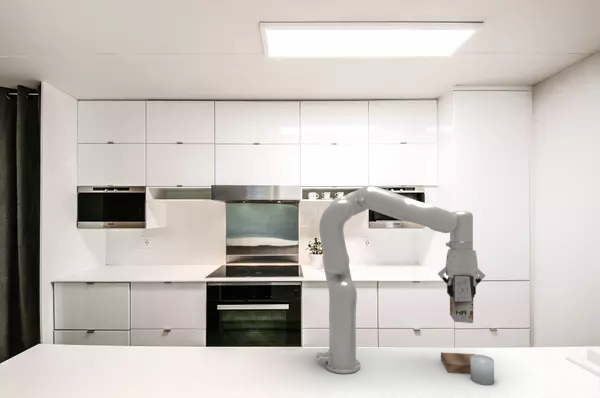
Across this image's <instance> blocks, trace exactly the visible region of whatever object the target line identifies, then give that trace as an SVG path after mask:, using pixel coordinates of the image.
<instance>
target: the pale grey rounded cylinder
mask: <svg viewBox="0 0 600 398" xmlns="http://www.w3.org/2000/svg"><path fill="white" fill-rule="evenodd" d="M470 380H471V381H472V382H473V383H475V384H478V385H482V386H492V385H494V384H495V359H494V358H492V357H491V356H488V355H484V354H475V355H472V356H471V374H470Z"/></svg>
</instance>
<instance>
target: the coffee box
mask: <svg viewBox="0 0 600 398" xmlns="http://www.w3.org/2000/svg"><path fill="white" fill-rule="evenodd" d="M452 286H453V296H452V297H450V296H449V315H450V317H451V319H452V320H453V321H454V323H463V324H464V323H465V324H473V323H474V298H473V291H474V276H471V275H454V279H453V282H452Z"/></svg>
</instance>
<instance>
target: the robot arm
mask: <svg viewBox="0 0 600 398" xmlns="http://www.w3.org/2000/svg"><path fill="white" fill-rule="evenodd" d="M367 210H371V211H373V212H377V213H379V214H382V215H385V216H387V217H391V218H393V219H397V220H399V221H402V222H408V223H412V224H415V225H420V226H424V227H427V228H429V229H430V230H431V231H435V232H437V233H438V232H439V233H442V234H449V241H447V242H445V246H446V247H448V249H447V252H446V259H445V266H444V267H443V268H442V269H441V270H440V271H439V272H437V275H438V276H439V277H440V279H441V280H442V281H443V282H444V283H445V284H446V293H447V294H446V295H448V296H449V298H450V297H452V296H453V286H452V282H453V279H454V275H471V276H474V291H473V299H474V298H475V295H476V294H477V293H476V292H477V289H476V288H477V286H478V285H479V283H481V281H482V280H483V279H484V278H486V275H485V274H484V273H483V272H482V271H481V269H479V266H478V265H479V264H478V257H477V251H476V250H475V249H474V241H473V240H474V238H473V237H474V234H473V233H474V230H473V229H474V215H473V213H472V212H470V211H463V210H461V211H457V210H455V211H449V210H447V209H446V210H445V209H443V208H440V207H437V206H436V205H435V206H434V205H432V204H428V203H425V202H422V201H419V200H417V199H414V198H411V197H408V196H405V195H402V194H399V193H396V192H393V191H390V190H387V189H385V188H382V187H379V186H376V185H366V186H363V187H360V188H358V189H356V190H354V191H352V192H350V193H347V194H345V195H343V196H340V197H338V198H335V199H334V200H332V201H331V202H330V203H329V206H327V208H326V209H324V211H323V212H322V214H321V217H320V220H319V224H318V225H319V228H318V230H319V231H318V232H319V237H320V243H321V251H322V264H323V269H324V273H325V279H326V284H327V288H328V289H327V290H328V298H329V303H328V305H329V307H328V308H329V309H328V317H329V318H328V323H329V324H328V333H329V334H328V341H329V342H328V343H329V344H328V345H329V346H328V351H326V352H320V351H319V352H318V351H317V353H316V359H319V361H324V366H325V369H327V370H328V371H330V372H332V373H336V374H342V375H343V374H344V375H346V374H352V373H353V374H354V373H356V372H358V371H359V370H360V369H361V362H360V361H359V360H358V359H357V321H356V320H357V301H358V300H357V298H358V296H357V295H358V293H357V288H356V284H355V283H354V281H353V280H352V274H351V270H350V257H349V254H348V250H347V245H346V241H345V234H344V226H345V224H346V223H347V221H349V220H351V219H352V217H353V216H357V215H358V214H360V213H362V212H365V211H367ZM445 275H446V276H447V277H446V276H445Z"/></svg>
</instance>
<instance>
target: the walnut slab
mask: <svg viewBox="0 0 600 398" xmlns="http://www.w3.org/2000/svg"><path fill="white" fill-rule="evenodd" d="M472 355H476V354H475V353H461V352H459V353H458V352H457V353H456V352H442V351H441V352H440V362H441V363H442V365H443V367H444V369H445V371H446V372H447V373H449V374H463V375H464V374H466V375H471V356H472Z"/></svg>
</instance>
